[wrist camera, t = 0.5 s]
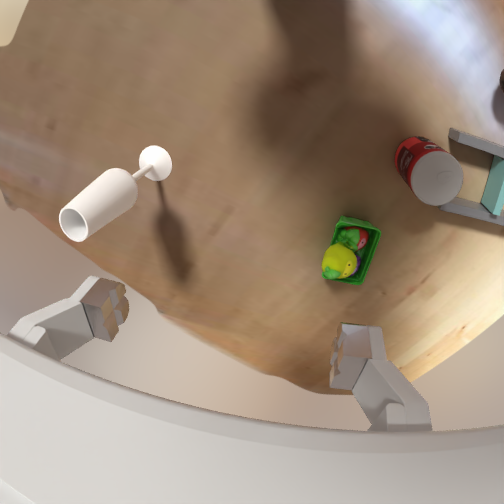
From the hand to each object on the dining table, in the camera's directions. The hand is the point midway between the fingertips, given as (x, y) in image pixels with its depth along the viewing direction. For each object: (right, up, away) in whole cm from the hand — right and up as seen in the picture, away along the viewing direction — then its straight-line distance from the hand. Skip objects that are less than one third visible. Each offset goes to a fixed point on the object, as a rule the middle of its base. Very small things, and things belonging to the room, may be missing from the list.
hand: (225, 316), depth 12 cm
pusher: (+43, +15, +32) cm, 56 cm away
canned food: (+27, +18, +34) cm, 47 cm away
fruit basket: (+18, +5, +45) cm, 48 cm away
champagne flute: (-16, +18, +43) cm, 50 cm away
